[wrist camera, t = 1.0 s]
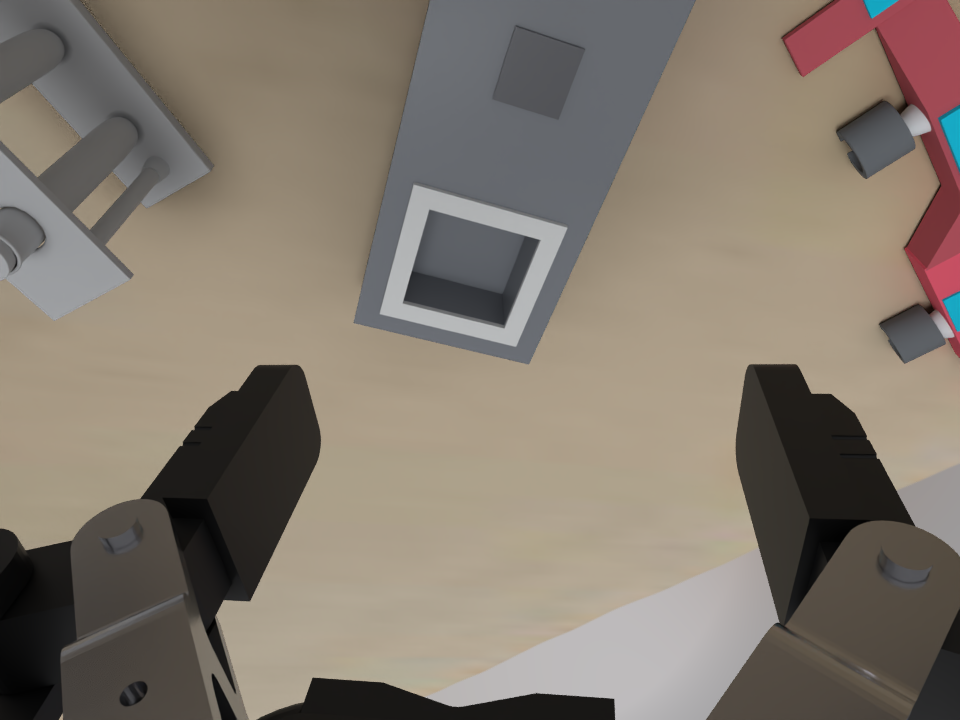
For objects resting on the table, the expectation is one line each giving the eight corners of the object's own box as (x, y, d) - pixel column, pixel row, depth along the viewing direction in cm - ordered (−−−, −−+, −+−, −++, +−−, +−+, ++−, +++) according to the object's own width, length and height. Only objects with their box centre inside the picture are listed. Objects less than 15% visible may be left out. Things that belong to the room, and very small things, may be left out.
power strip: (362, 282, 40) (352, 326, 37) (487, -242, 25) (489, -249, 22) (524, 322, 42) (529, 367, 38) (725, -143, 27) (761, -136, 24)
